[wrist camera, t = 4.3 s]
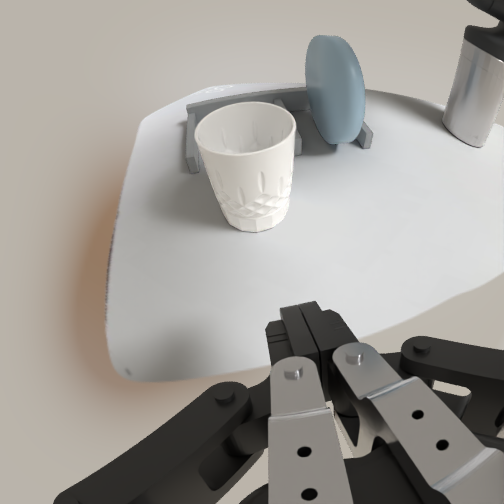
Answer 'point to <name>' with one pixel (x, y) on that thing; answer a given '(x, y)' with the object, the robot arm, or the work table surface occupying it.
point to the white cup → (249, 162)
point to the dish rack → (307, 98)
